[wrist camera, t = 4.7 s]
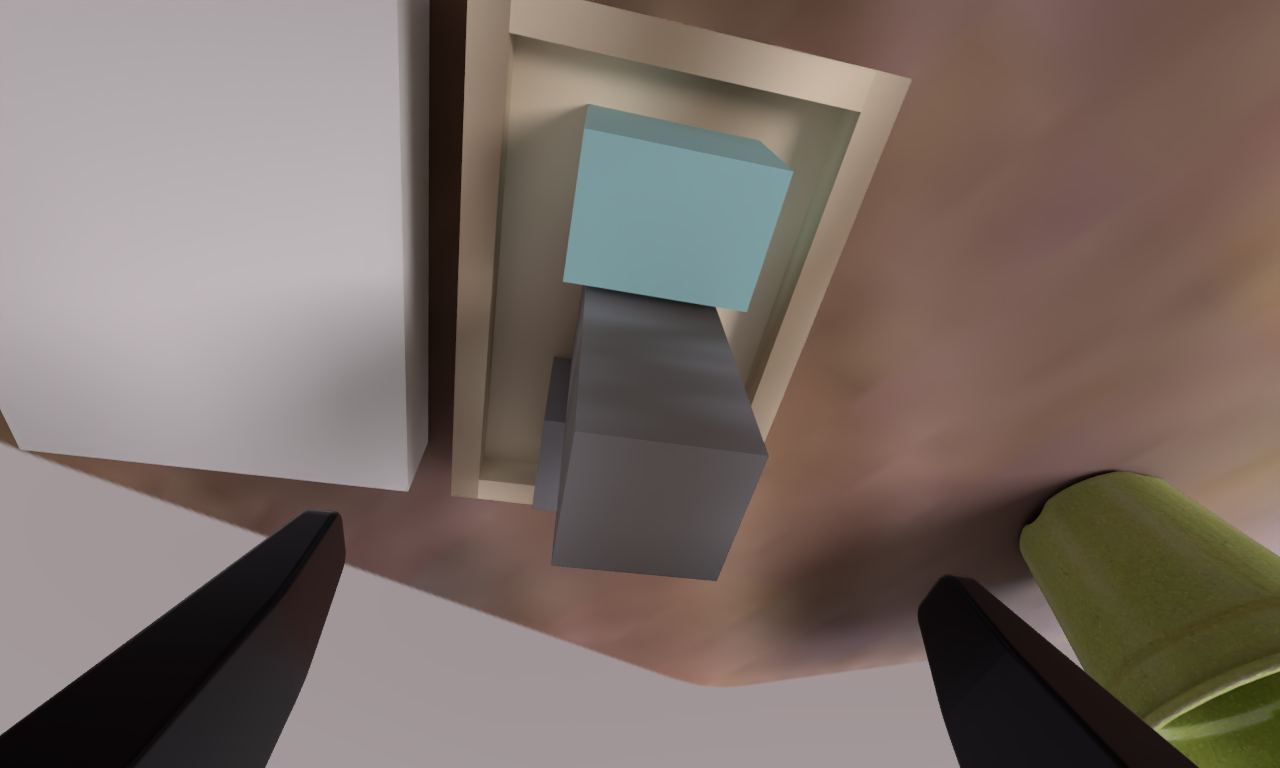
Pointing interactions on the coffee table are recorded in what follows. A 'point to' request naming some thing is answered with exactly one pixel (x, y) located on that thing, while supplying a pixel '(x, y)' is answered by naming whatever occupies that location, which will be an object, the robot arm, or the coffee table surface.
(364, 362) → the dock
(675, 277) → the teal block
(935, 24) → the coffee table surface
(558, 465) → the charcoal block
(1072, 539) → the plant pot
